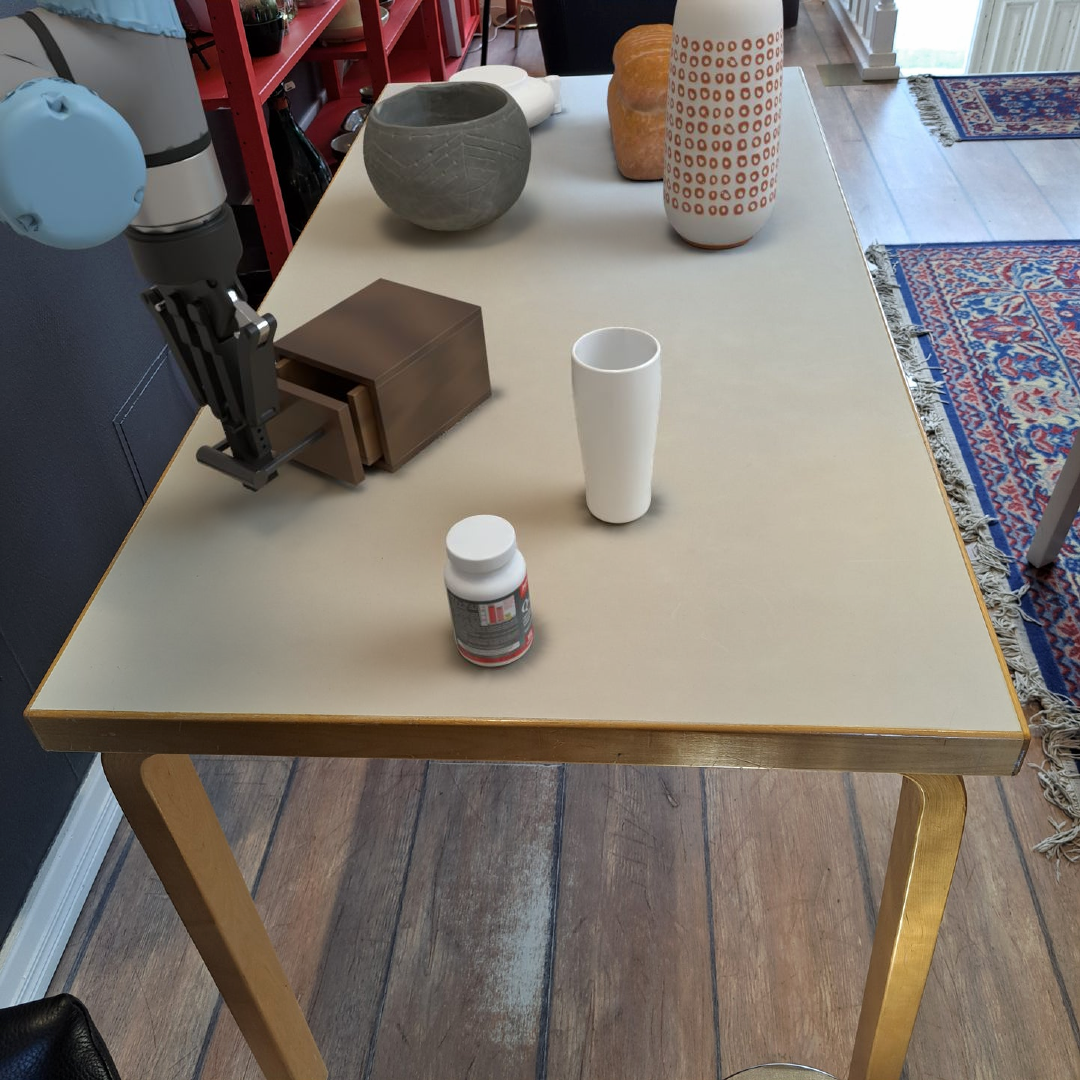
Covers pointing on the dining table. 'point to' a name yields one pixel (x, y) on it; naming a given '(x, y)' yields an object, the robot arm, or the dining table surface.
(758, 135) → the white patterned vase
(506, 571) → the pill bottle
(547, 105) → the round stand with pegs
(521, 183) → the bowl
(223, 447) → the drawer
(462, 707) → the dining table surface
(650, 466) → the drinking glass
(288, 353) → the cabinet
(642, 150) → the bread
